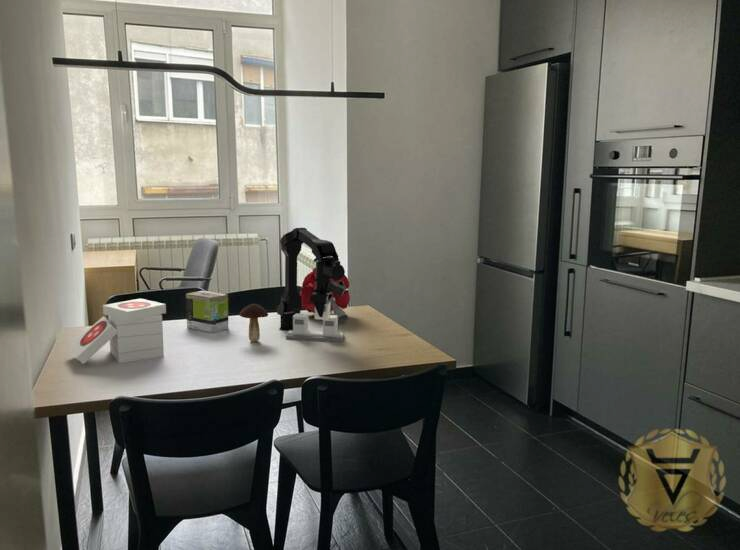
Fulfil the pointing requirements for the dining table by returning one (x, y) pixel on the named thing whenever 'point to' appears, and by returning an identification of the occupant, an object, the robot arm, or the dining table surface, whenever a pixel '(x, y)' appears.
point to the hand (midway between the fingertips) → (322, 315)
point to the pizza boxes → (125, 332)
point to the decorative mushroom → (253, 319)
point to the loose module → (326, 312)
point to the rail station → (302, 332)
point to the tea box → (207, 311)
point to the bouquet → (336, 306)
